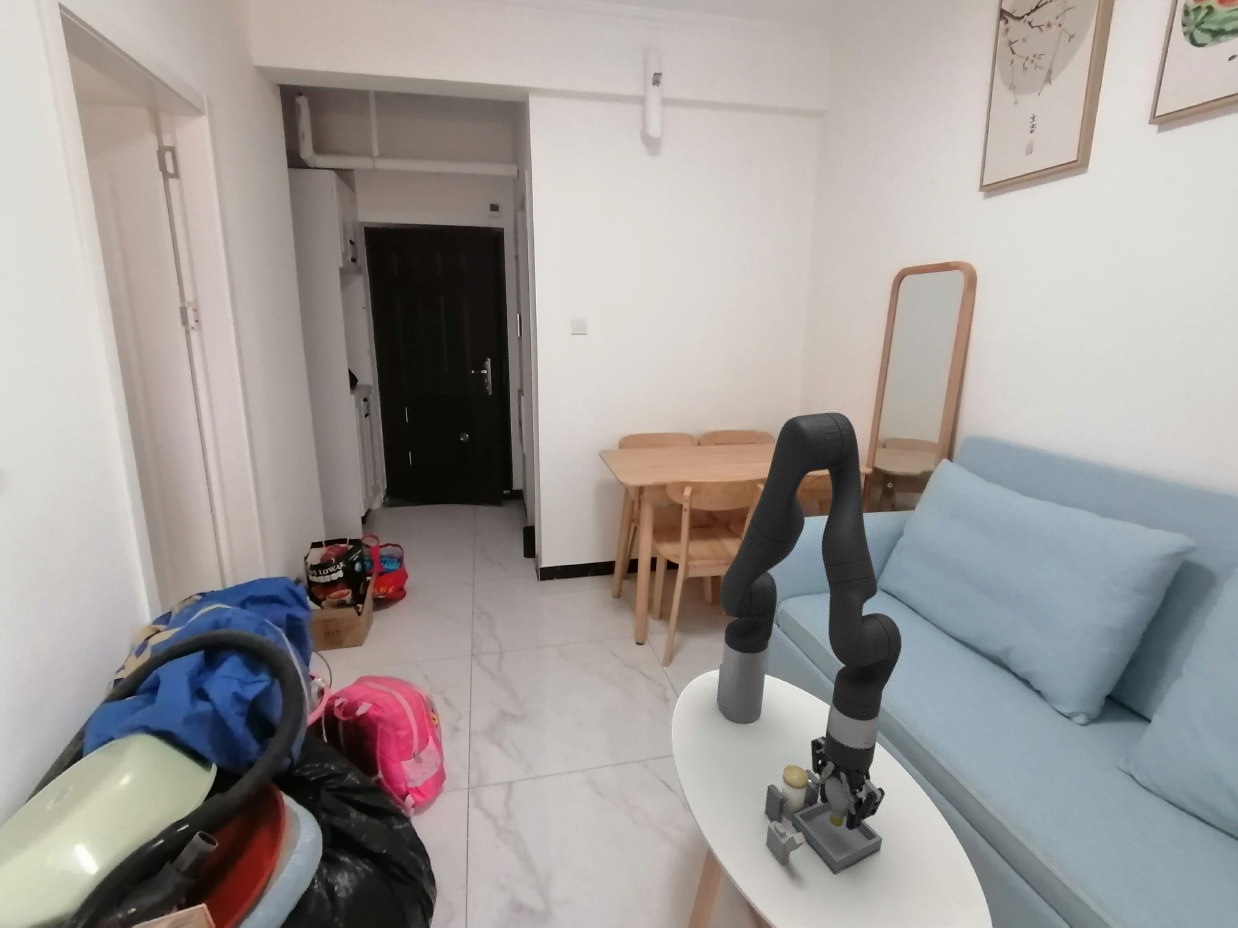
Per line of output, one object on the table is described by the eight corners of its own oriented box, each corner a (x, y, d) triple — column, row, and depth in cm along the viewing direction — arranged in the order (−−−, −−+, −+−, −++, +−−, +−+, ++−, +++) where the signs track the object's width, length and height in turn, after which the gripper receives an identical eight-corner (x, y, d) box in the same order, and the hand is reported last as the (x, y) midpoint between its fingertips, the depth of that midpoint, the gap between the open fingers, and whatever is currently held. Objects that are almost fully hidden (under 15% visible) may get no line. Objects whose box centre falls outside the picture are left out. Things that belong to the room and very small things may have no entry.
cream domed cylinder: (773, 806, 109) (778, 769, 107) (791, 797, 111) (796, 761, 109) (790, 823, 105) (795, 786, 103) (808, 814, 107) (813, 778, 105)
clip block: (764, 812, 108) (767, 785, 106) (837, 780, 115) (841, 755, 113) (776, 826, 105) (779, 799, 103) (850, 793, 112) (854, 766, 111)
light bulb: (855, 841, 100) (865, 794, 96) (820, 834, 101) (829, 787, 97) (850, 813, 105) (859, 767, 101) (817, 807, 106) (825, 761, 102)
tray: (792, 825, 105) (793, 813, 105) (835, 805, 110) (837, 794, 109) (834, 873, 97) (836, 861, 96) (880, 849, 101) (882, 838, 100)
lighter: (765, 843, 102) (769, 805, 99) (773, 840, 102) (778, 802, 100) (792, 880, 95) (797, 840, 93) (801, 876, 96) (806, 837, 94)
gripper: (802, 708, 102) (792, 790, 106) (870, 767, 89) (855, 856, 94) (835, 696, 105) (824, 776, 109) (905, 752, 92) (889, 839, 97)
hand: (838, 813), depth 102 cm, fingers closed on light bulb, 5 cm apart
